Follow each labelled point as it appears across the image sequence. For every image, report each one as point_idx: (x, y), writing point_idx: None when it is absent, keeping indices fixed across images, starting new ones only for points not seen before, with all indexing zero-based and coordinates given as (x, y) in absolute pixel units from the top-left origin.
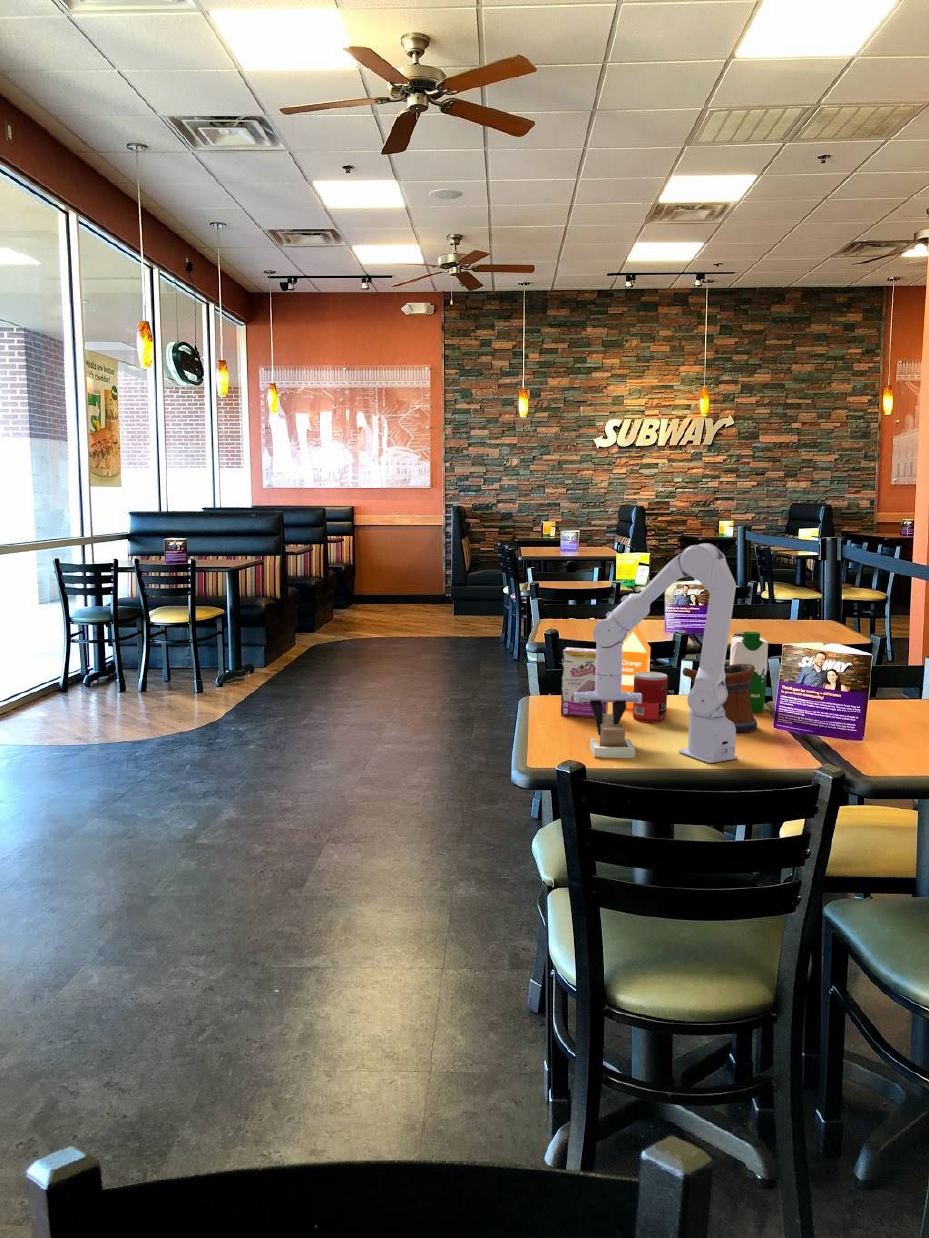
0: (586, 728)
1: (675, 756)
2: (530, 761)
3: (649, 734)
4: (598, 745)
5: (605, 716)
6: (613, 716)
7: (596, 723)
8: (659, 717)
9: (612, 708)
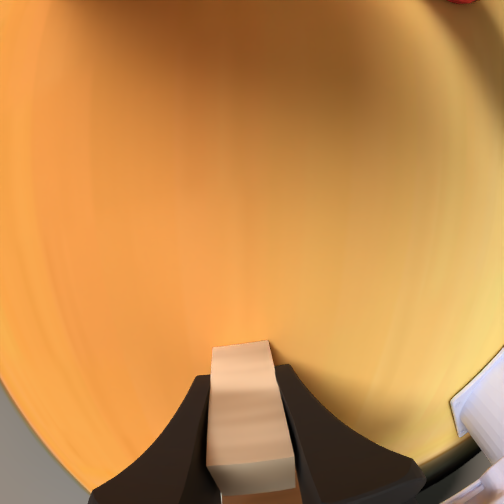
0: (119, 109)
1: (428, 424)
2: (89, 487)
3: (451, 190)
4: (221, 497)
5: (241, 493)
6: (294, 486)
7: (179, 410)
8: (475, 1)
9: (308, 465)
